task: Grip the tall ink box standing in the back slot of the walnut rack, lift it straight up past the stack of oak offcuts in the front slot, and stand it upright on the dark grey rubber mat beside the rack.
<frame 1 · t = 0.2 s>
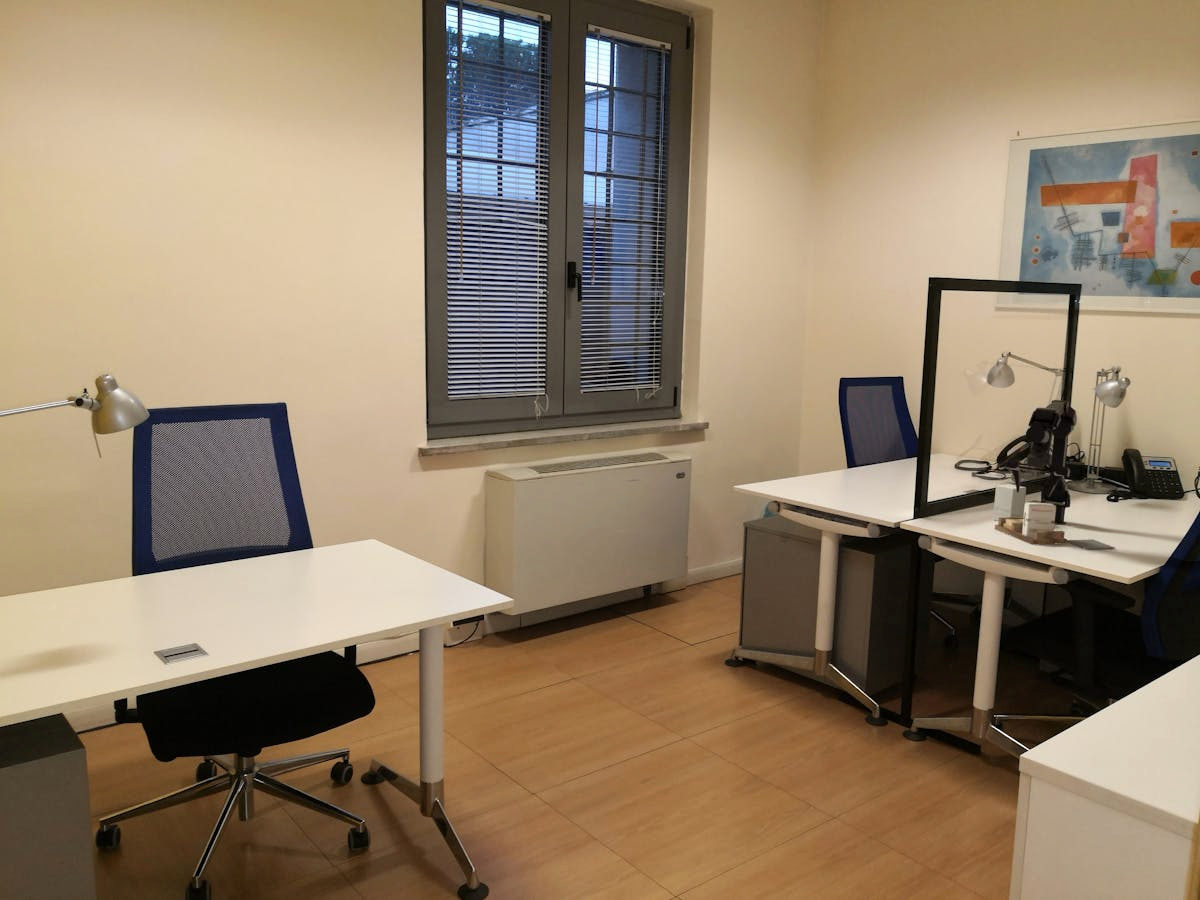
hand: (1033, 494, 316), 15 cm above the table, tool pointing down, fingers open, 9 cm apart
supplement box: (1007, 521, 345), on the table
ink box: (1036, 539, 320), resting in walnut rack
dark grey mat: (1090, 545, 314), on the table
walnut rack: (1036, 538, 320), on the table
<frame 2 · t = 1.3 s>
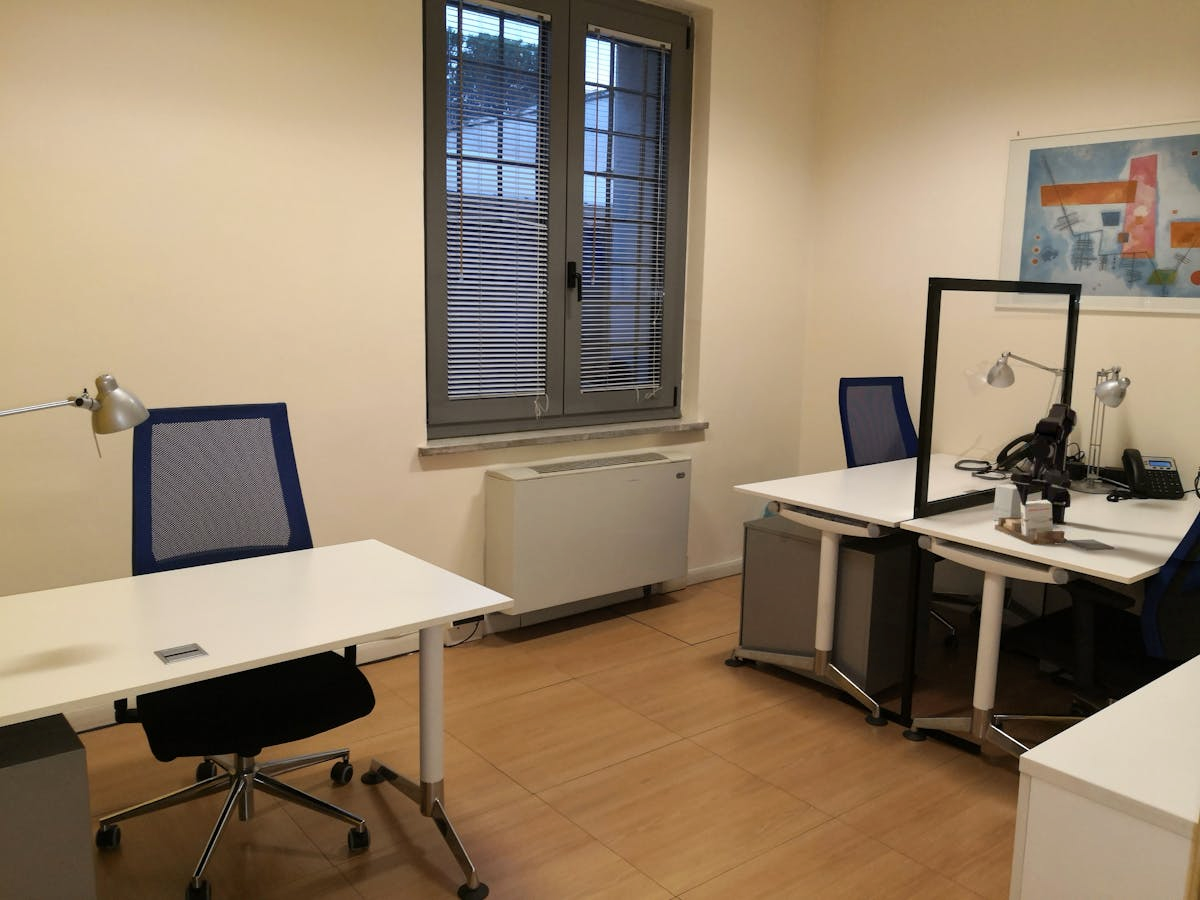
hand: (1036, 506, 317), 11 cm above the table, tool pointing down, fingers open, 9 cm apart
ink box: (1036, 537, 320), point 1 cm above the table, touching gripper
everything else where it was.
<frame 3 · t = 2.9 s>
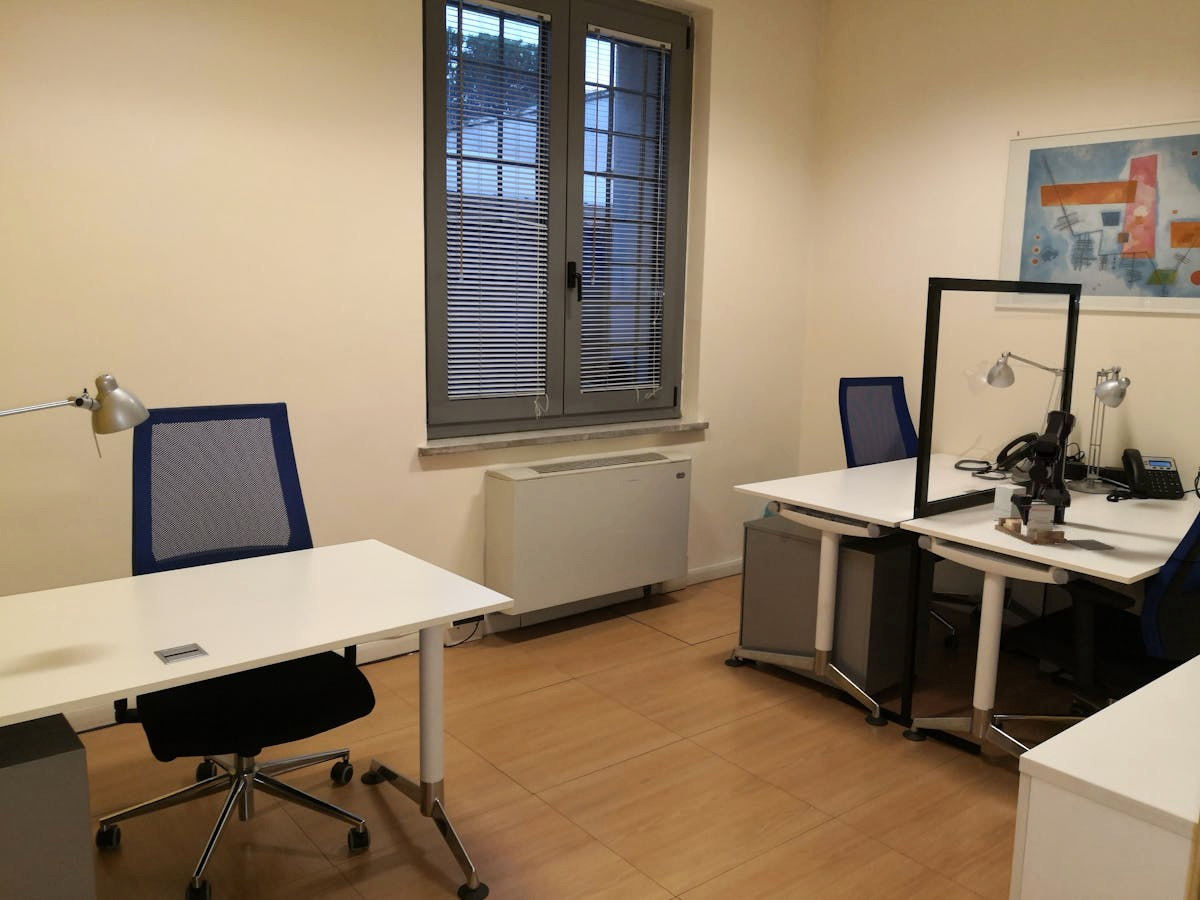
hand: (1037, 525, 319), 5 cm above the table, tool pointing down, fingers closed on ink box, 9 cm apart
ink box: (1035, 539, 321), resting in walnut rack, touching gripper
everything else where it was.
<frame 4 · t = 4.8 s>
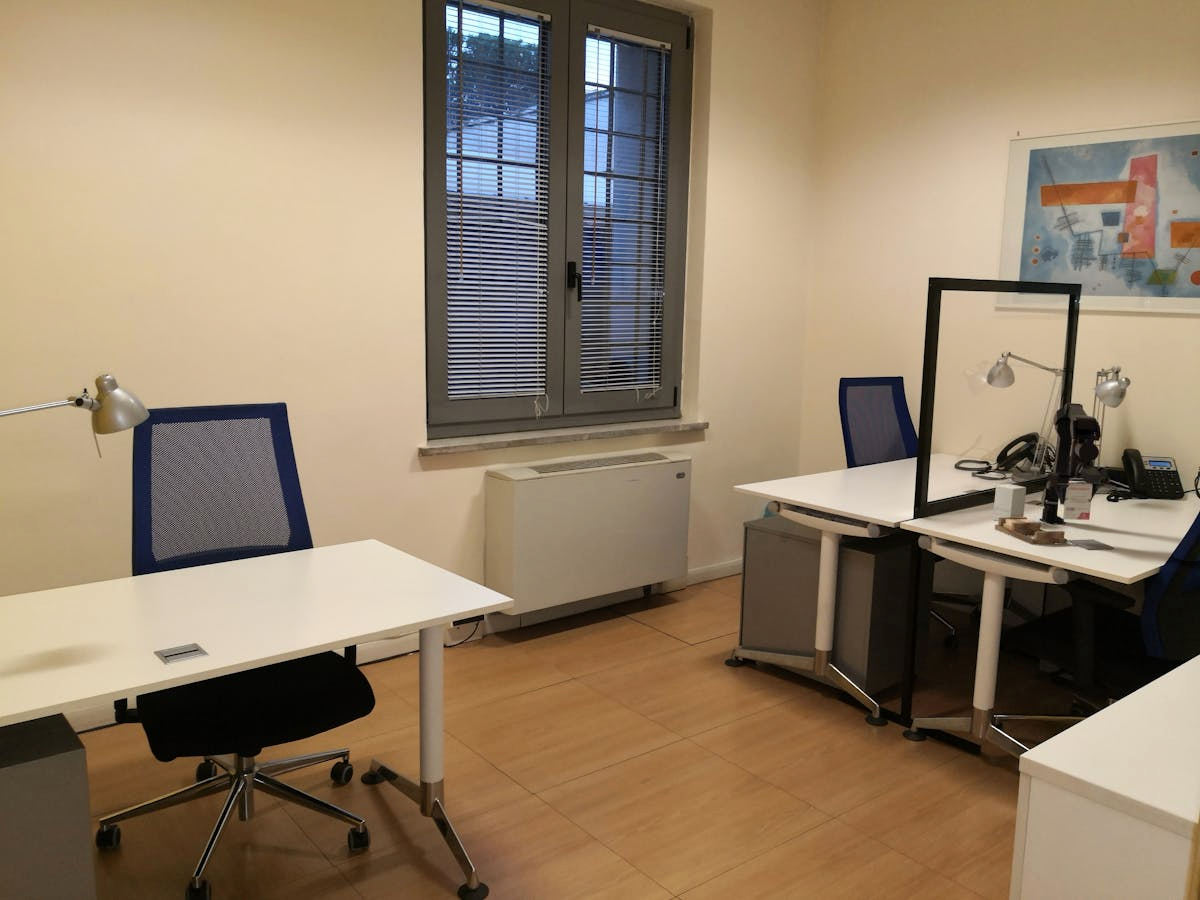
hand: (1075, 504, 314), 13 cm above the table, tool pointing down, fingers closed on ink box, 9 cm apart
ink box: (1072, 518, 316), point 8 cm above the table, touching gripper
everything else where it was.
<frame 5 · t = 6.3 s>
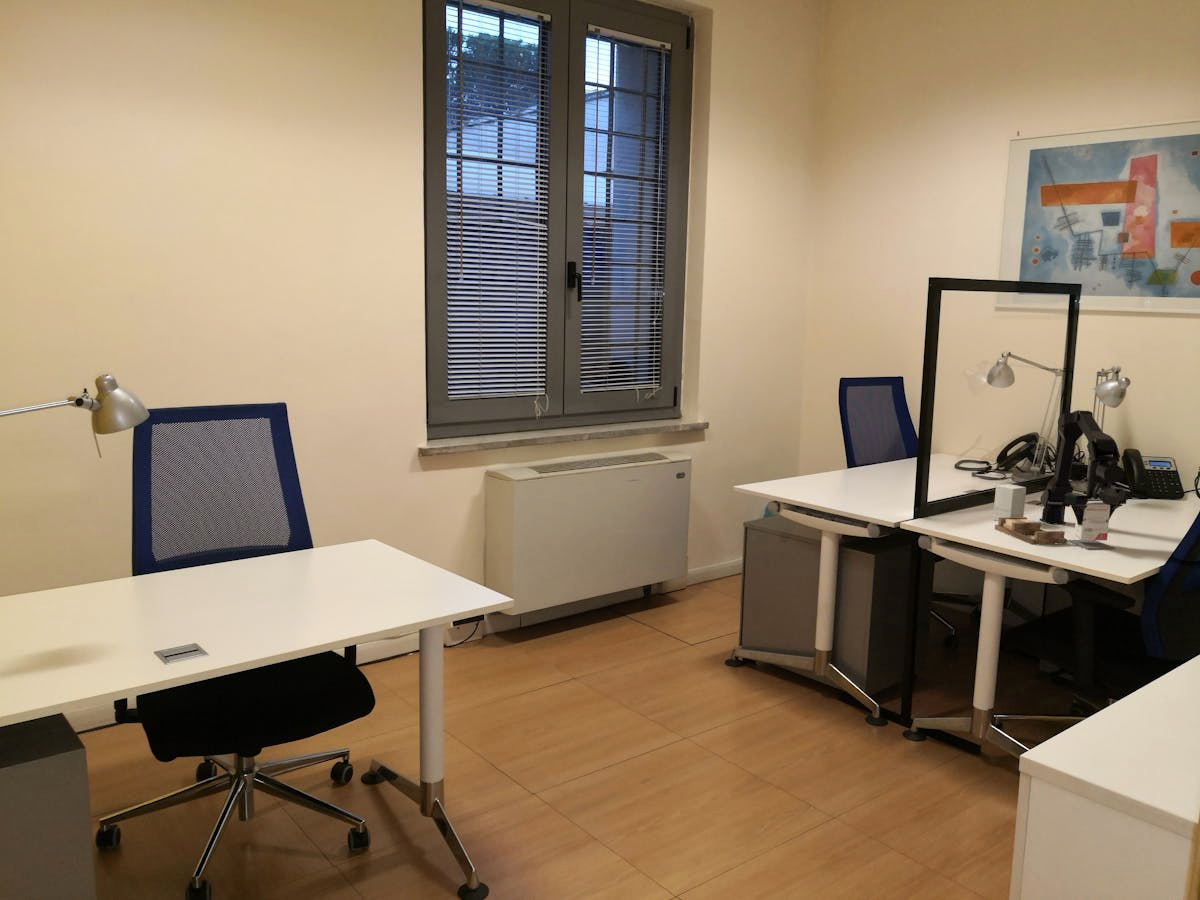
hand: (1092, 524, 313), 7 cm above the table, tool pointing down, fingers closed on ink box, 9 cm apart
ink box: (1089, 539, 315), point 2 cm above the table, touching gripper
everything else where it was.
when the fingers open (6 cm above the table, at t = 7.5 s): ink box stays where it is, resting on dark grey mat.
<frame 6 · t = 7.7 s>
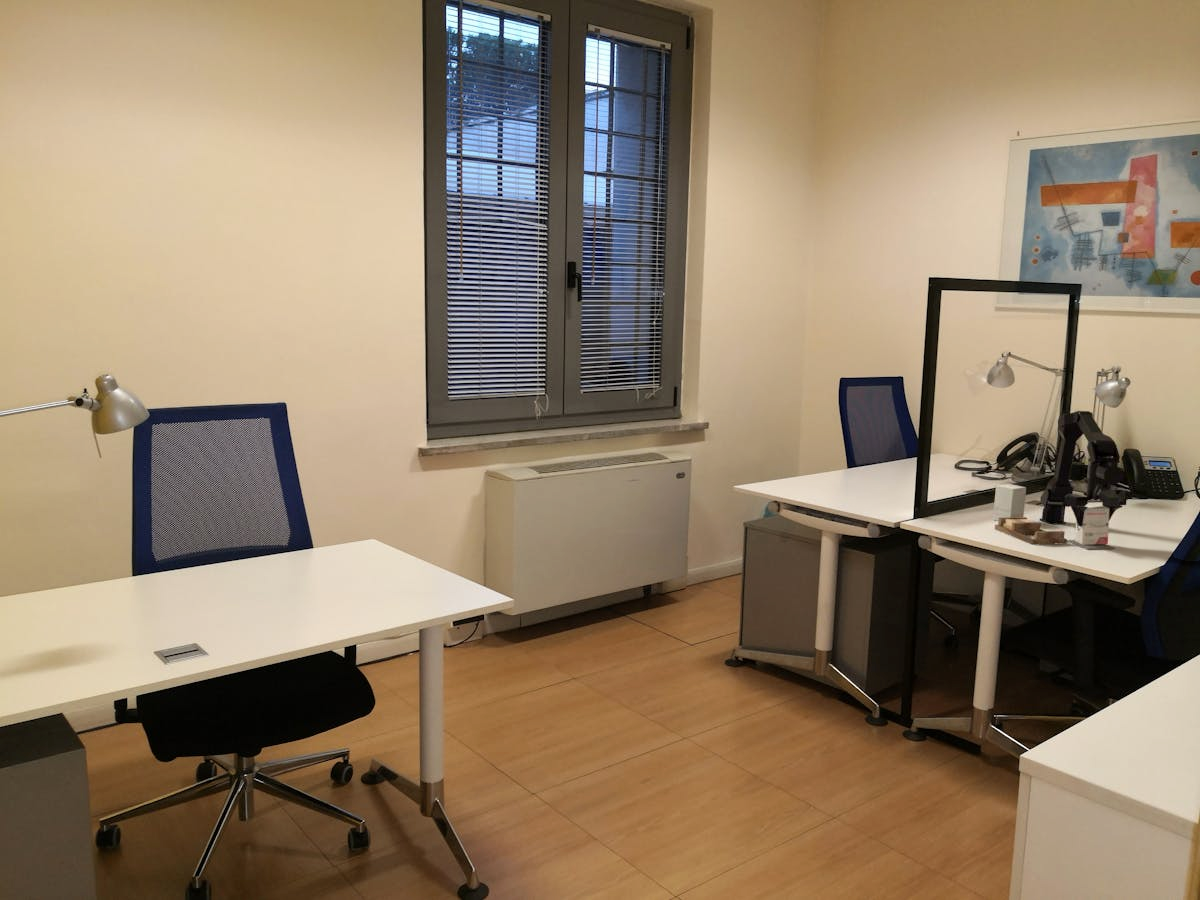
hand: (1092, 525, 313), 6 cm above the table, tool pointing down, fingers open, 9 cm apart
ink box: (1090, 543, 315), point 1 cm above the table, touching dark grey mat, gripper
everything else where it was.
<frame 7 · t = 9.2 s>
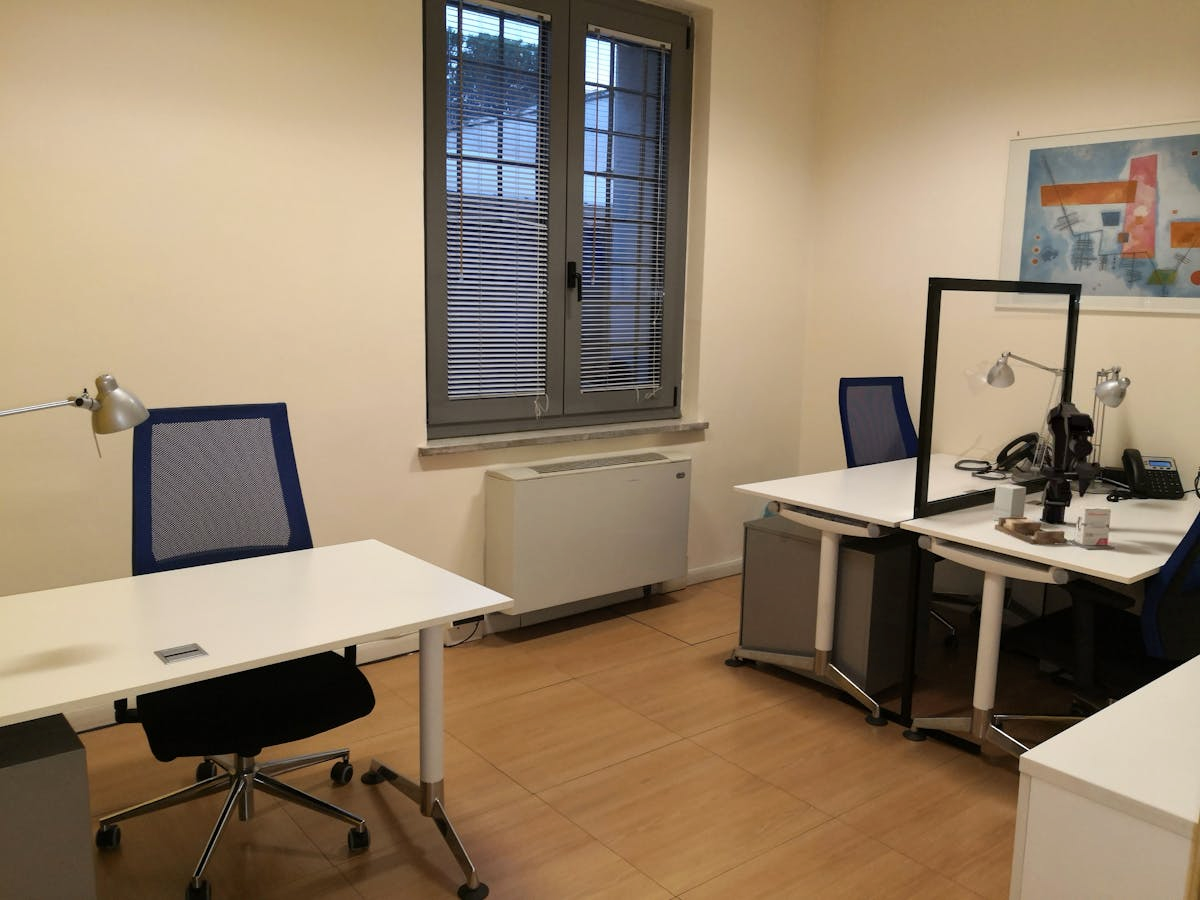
hand: (1069, 497, 326), 13 cm above the table, tool pointing down, fingers open, 9 cm apart
ink box: (1090, 544, 315), resting on dark grey mat
everything else where it was.
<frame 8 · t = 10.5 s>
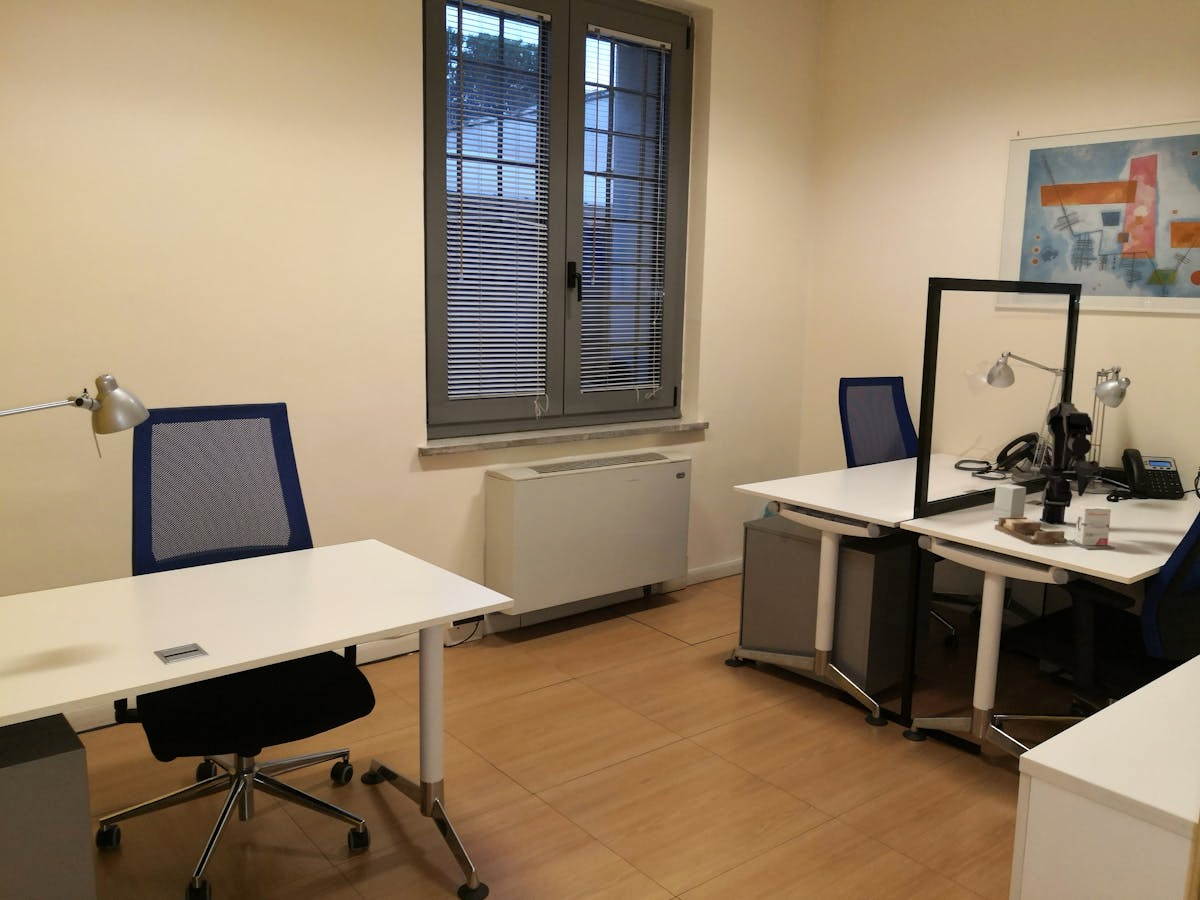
hand: (1068, 496, 326), 13 cm above the table, tool pointing down, fingers open, 9 cm apart
nothing on the table moved.
at the end: ink box 0.6 cm off-centre on the dark grey mat, point 0.3 cm above the dark grey mat's base; ink box tilted 0°; the gripper is holding nothing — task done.
